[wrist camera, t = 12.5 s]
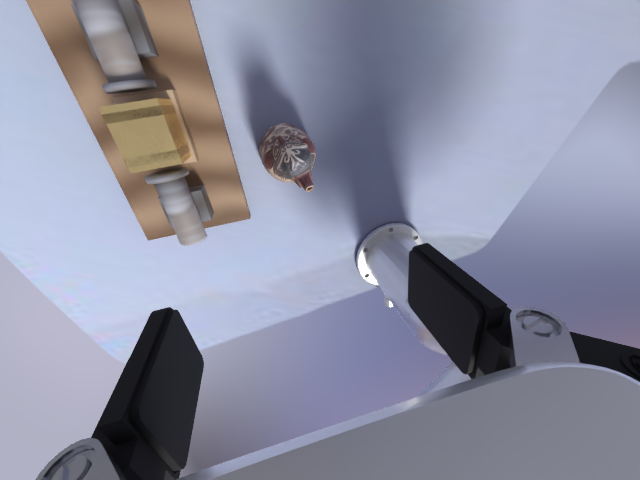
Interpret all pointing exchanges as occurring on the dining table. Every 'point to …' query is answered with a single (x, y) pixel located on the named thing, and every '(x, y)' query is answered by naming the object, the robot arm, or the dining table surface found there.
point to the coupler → (147, 134)
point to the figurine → (288, 155)
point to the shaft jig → (142, 84)
